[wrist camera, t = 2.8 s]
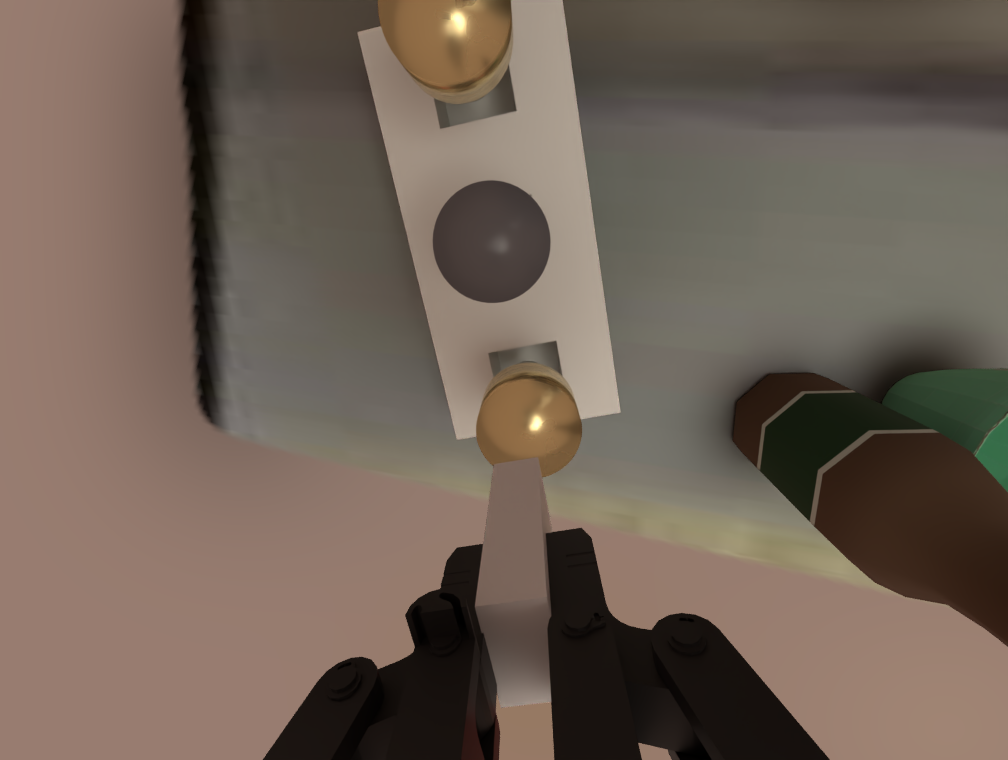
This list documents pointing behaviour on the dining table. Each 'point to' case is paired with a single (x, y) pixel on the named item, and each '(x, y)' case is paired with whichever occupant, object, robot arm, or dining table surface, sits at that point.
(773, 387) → the beer bottle
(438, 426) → the dining table surface
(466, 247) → the knob mid
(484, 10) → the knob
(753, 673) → the robot arm
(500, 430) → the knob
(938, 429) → the mug
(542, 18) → the panel
